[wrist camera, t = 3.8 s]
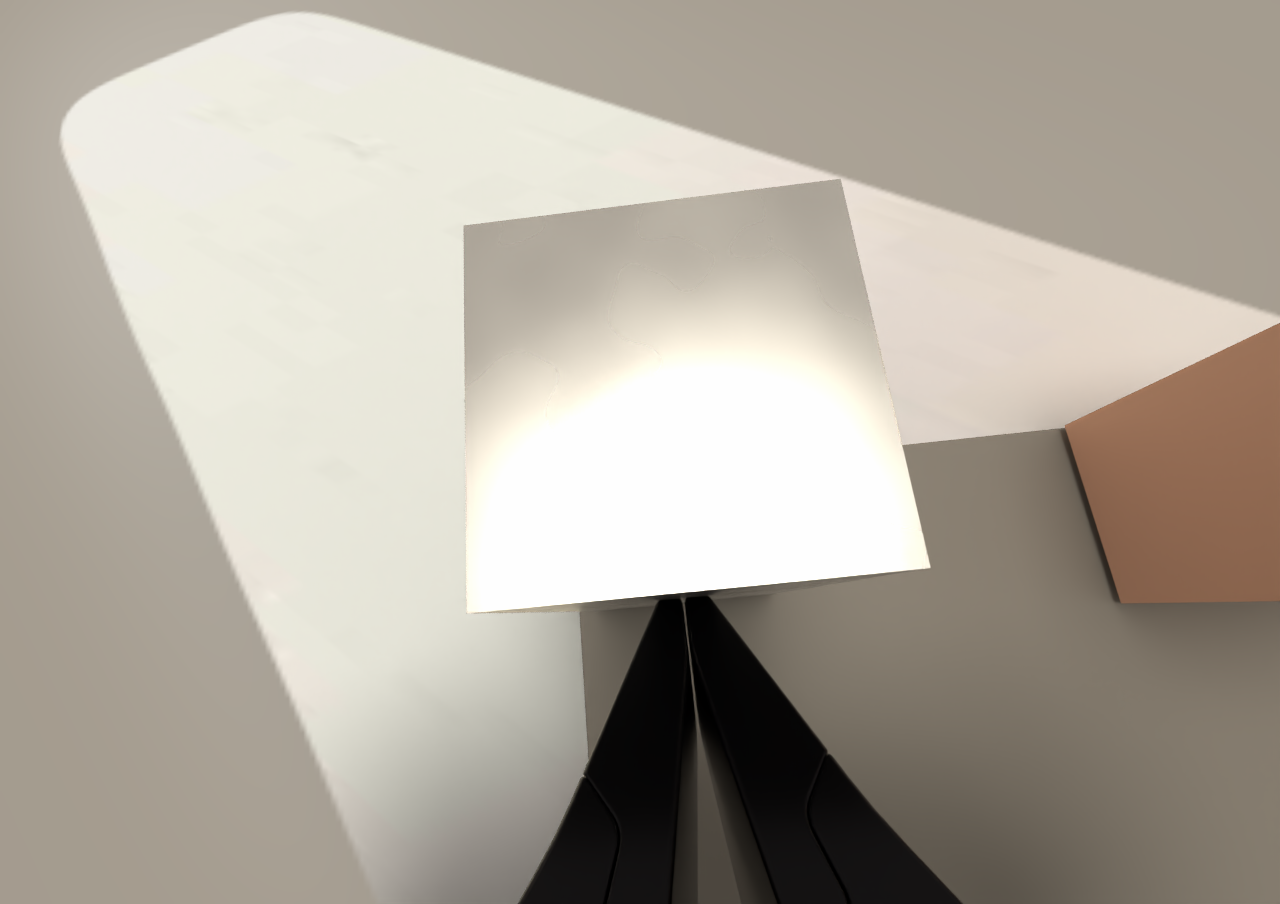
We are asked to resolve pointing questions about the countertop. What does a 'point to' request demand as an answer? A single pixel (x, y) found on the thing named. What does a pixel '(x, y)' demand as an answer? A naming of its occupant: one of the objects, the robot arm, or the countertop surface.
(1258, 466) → the peach orange rectangular block
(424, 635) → the countertop surface
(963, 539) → the thin grey base plate
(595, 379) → the brushed grey block
